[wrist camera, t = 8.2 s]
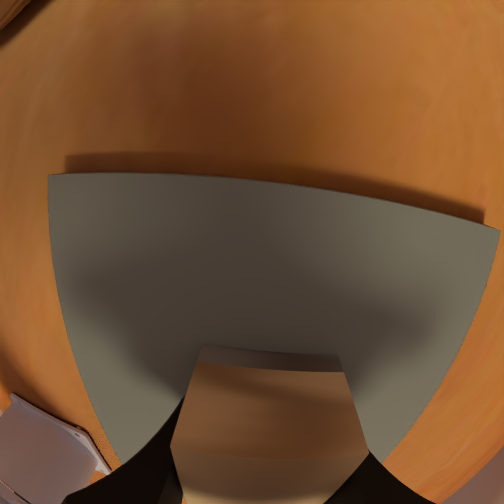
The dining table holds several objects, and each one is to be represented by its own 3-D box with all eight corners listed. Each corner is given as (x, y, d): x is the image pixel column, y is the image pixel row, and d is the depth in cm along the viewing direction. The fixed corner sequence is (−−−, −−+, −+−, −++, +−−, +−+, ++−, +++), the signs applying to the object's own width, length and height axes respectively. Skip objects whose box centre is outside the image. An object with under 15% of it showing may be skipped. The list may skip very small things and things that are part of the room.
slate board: (138, 474, 16) (134, 484, 15) (66, 172, 9) (48, 174, 8) (339, 492, 16) (341, 502, 15) (484, 224, 9) (500, 230, 8)
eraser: (204, 442, 11) (190, 513, 7) (202, 343, 9) (170, 445, 5) (299, 450, 11) (304, 520, 7) (337, 354, 9) (369, 453, 5)
